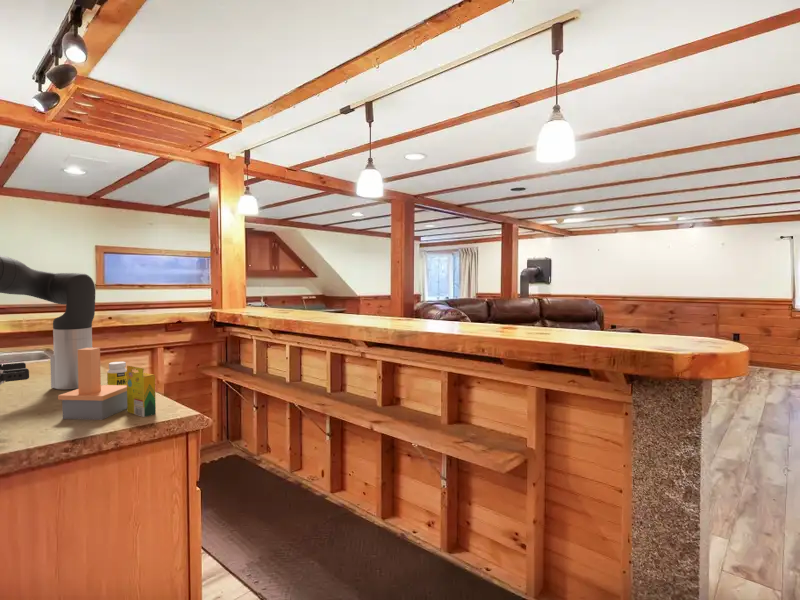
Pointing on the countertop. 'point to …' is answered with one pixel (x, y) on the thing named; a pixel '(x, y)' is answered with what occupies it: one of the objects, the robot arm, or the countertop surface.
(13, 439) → the countertop surface
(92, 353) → the lid
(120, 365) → the supplement bottle
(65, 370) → the robot arm
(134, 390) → the crayon box
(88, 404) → the tub
